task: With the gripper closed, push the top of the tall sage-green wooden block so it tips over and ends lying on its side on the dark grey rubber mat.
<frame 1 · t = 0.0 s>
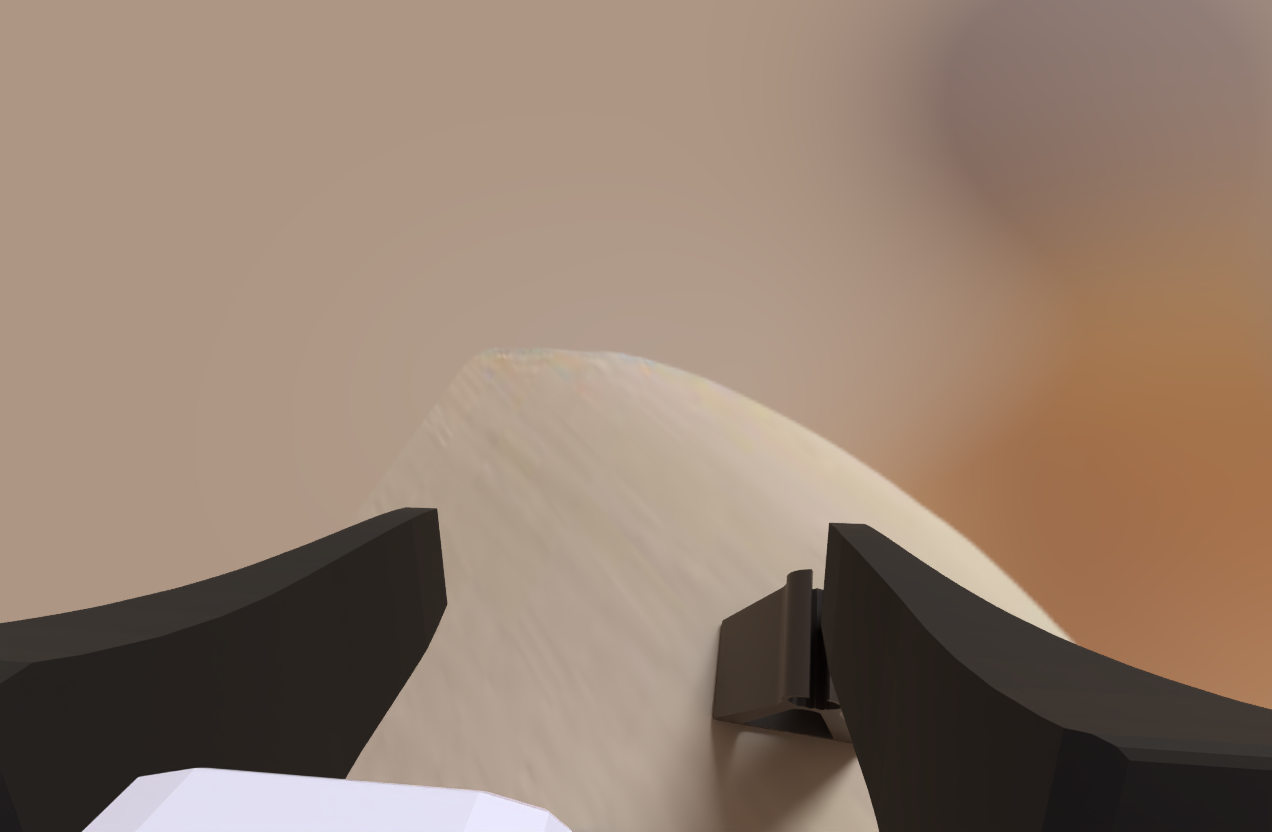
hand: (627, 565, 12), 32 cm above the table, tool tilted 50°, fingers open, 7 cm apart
phone stand: (788, 681, 40), on the table
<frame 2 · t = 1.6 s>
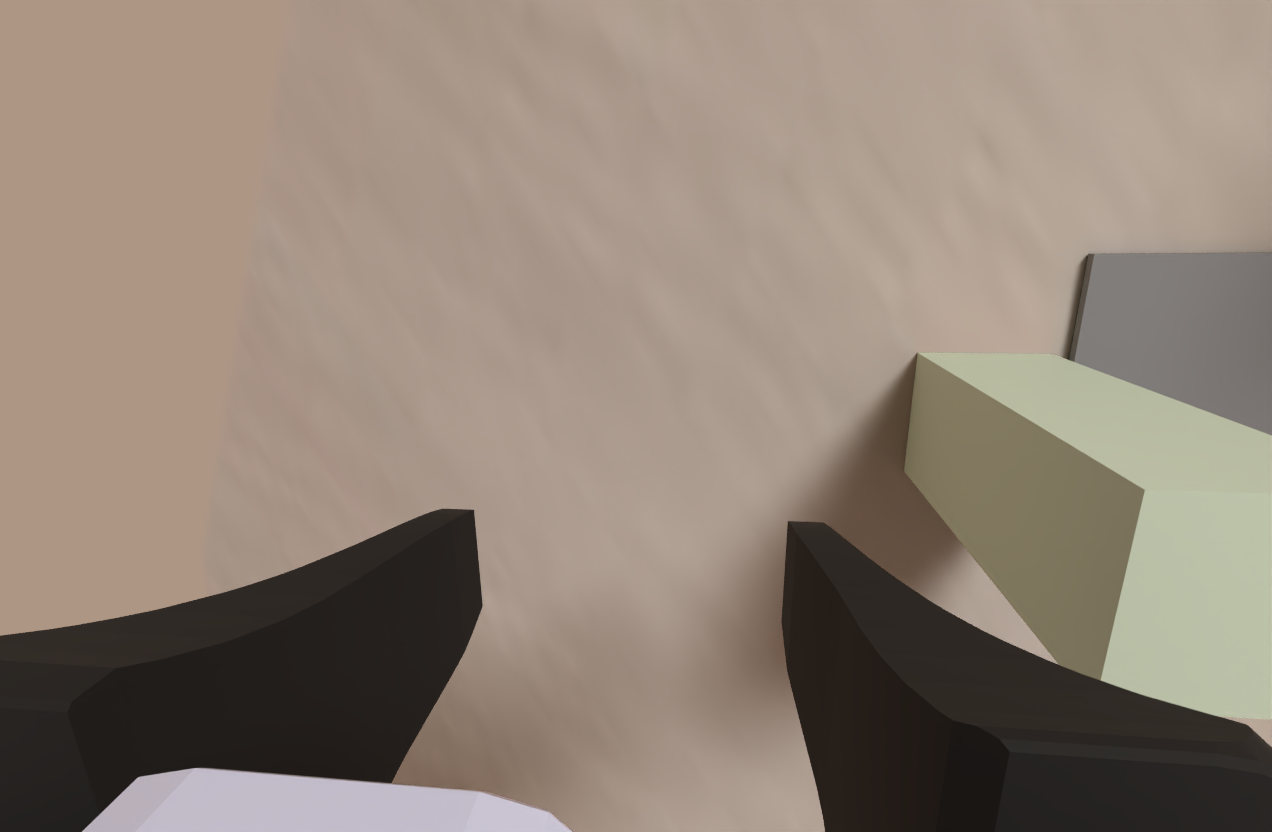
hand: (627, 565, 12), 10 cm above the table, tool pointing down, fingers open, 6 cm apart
sage block: (975, 414, 21), on the table
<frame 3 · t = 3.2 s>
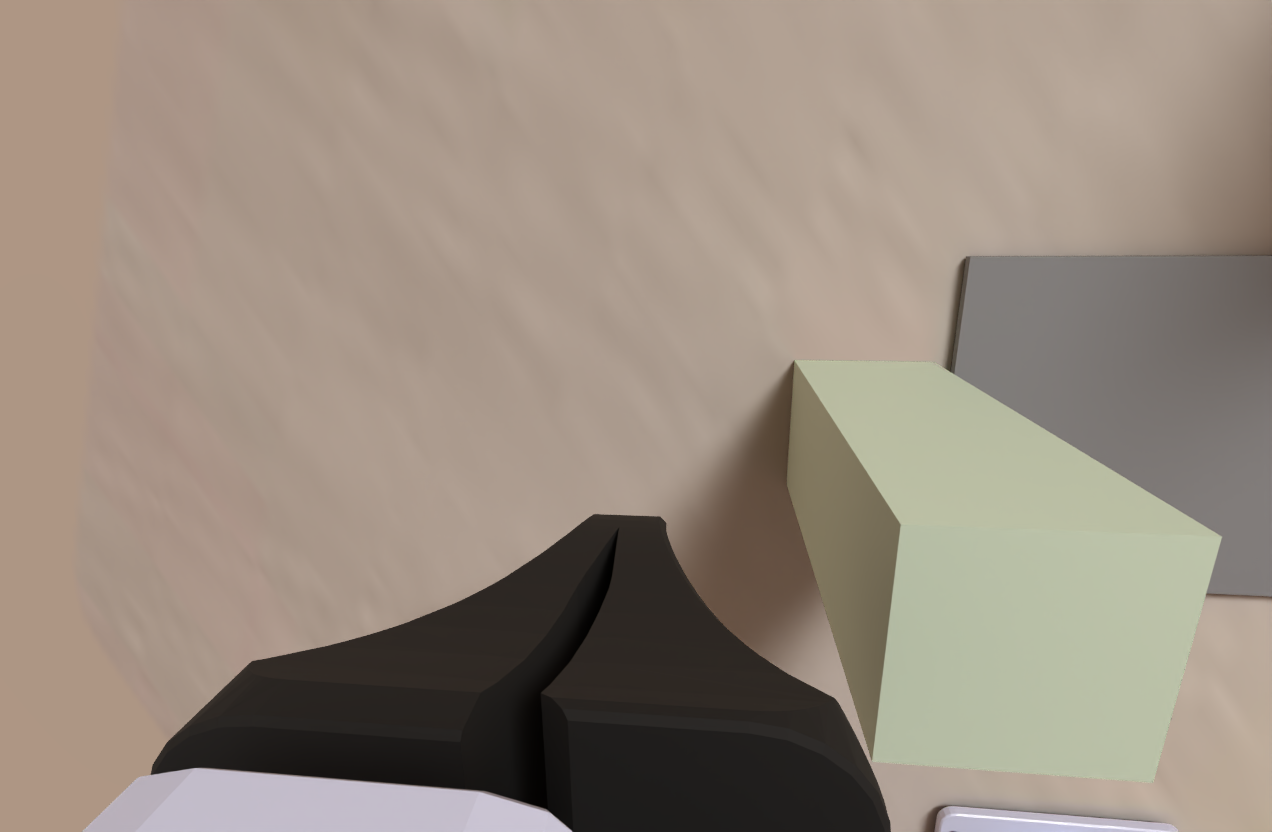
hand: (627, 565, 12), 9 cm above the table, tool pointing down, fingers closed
mat: (1195, 433, 19), on the table
sage block: (857, 425, 20), on the table
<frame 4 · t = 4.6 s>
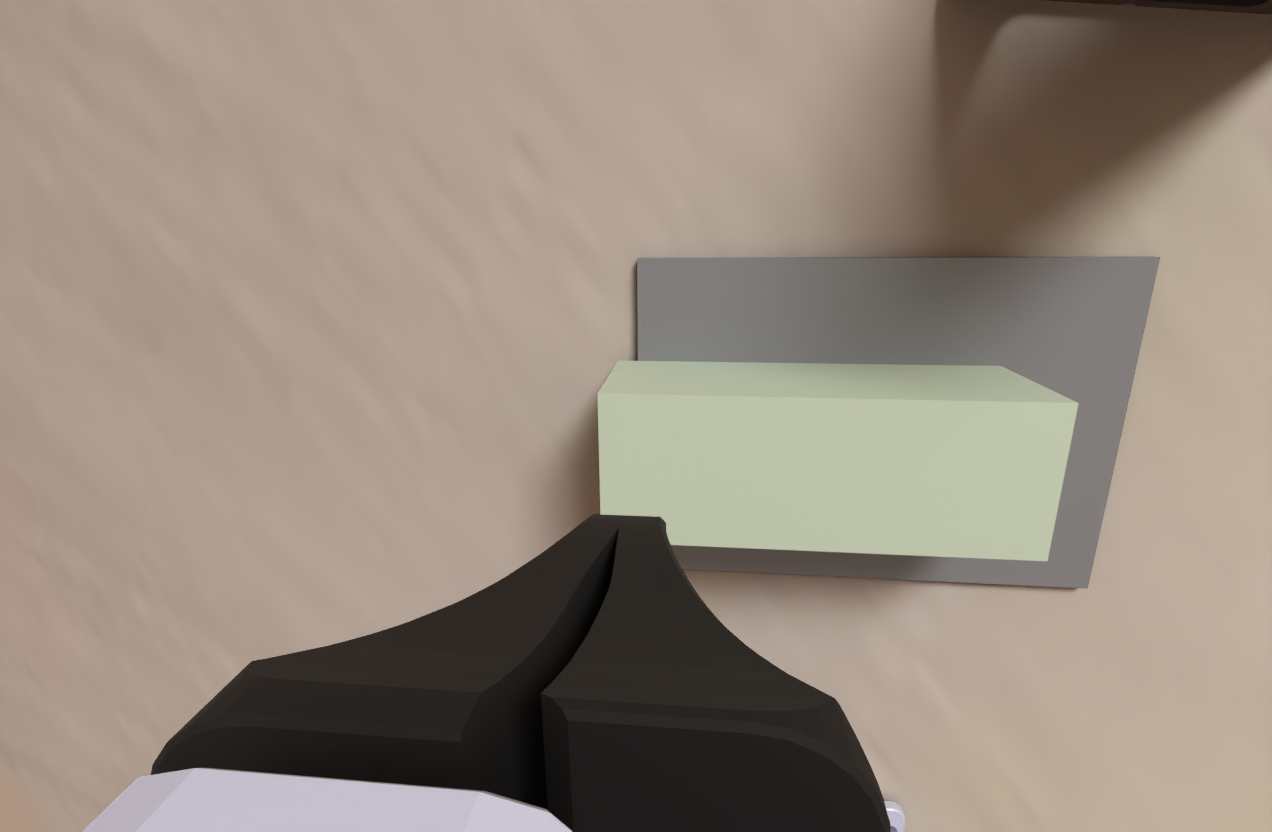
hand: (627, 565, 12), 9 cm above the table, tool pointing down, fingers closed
mat: (868, 426, 19), on the table
sage block: (610, 444, 18), point 2 cm above the table, tilted 90°, touching mat
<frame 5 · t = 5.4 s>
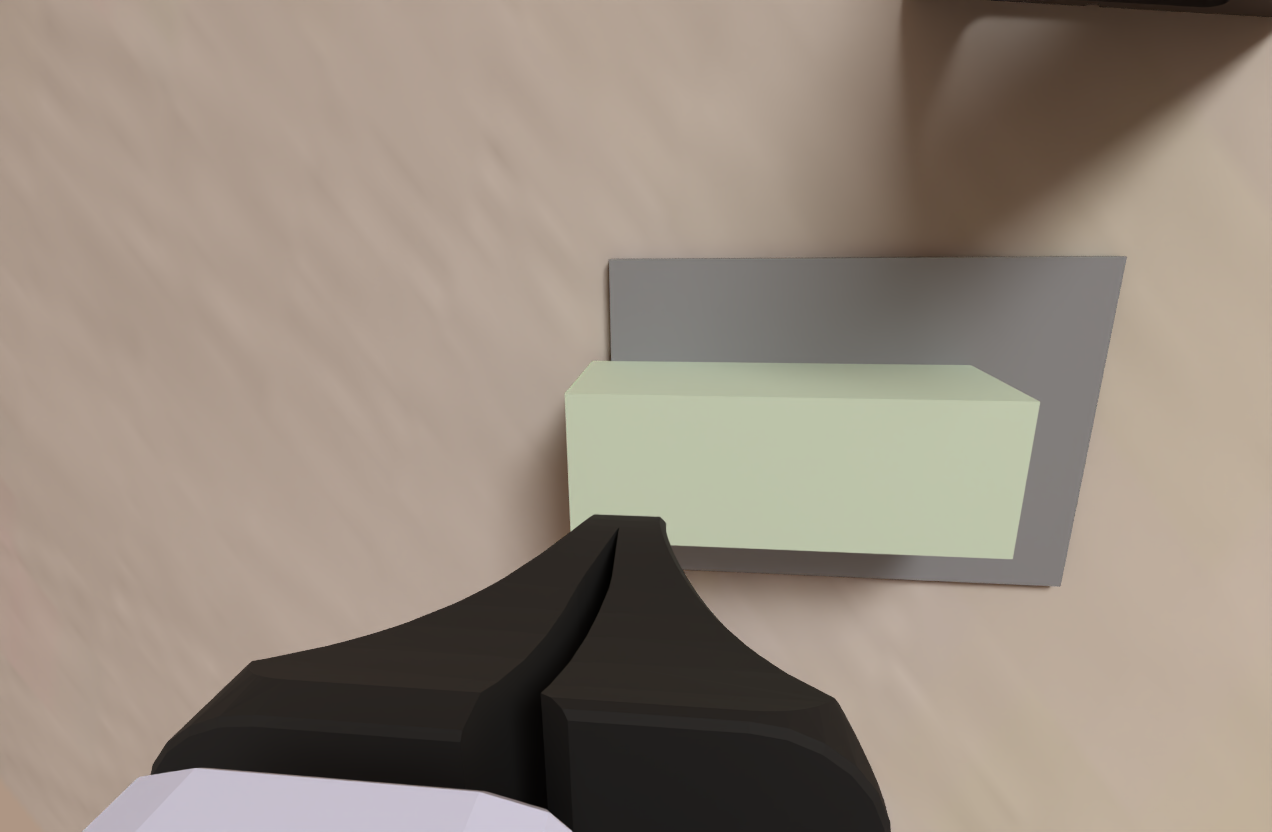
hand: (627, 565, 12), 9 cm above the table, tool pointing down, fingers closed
mat: (840, 425, 20), on the table
sage block: (582, 444, 18), point 2 cm above the table, tilted 90°, touching mat
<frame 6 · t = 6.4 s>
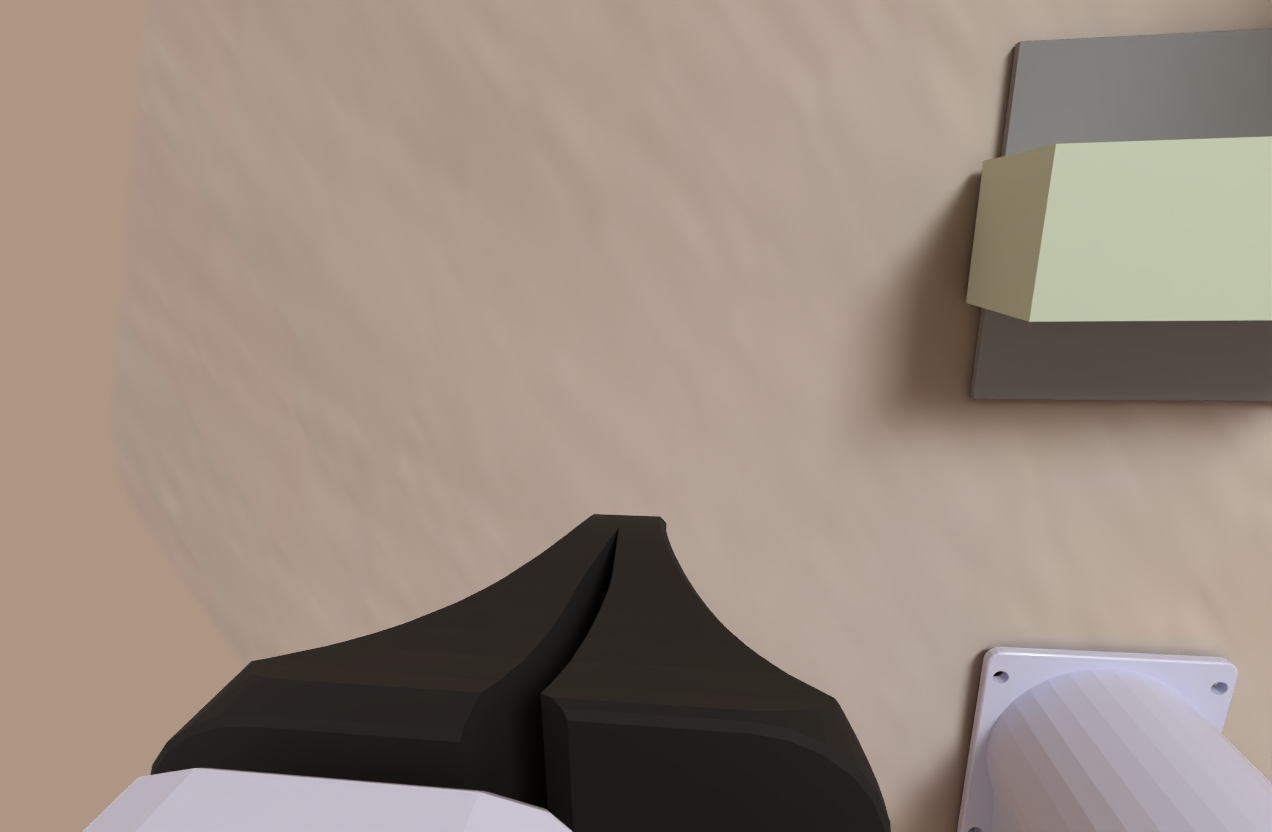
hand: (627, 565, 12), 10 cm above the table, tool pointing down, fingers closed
mat: (1250, 228, 18), on the table
sage block: (1004, 234, 17), point 2 cm above the table, tilted 90°, touching mat
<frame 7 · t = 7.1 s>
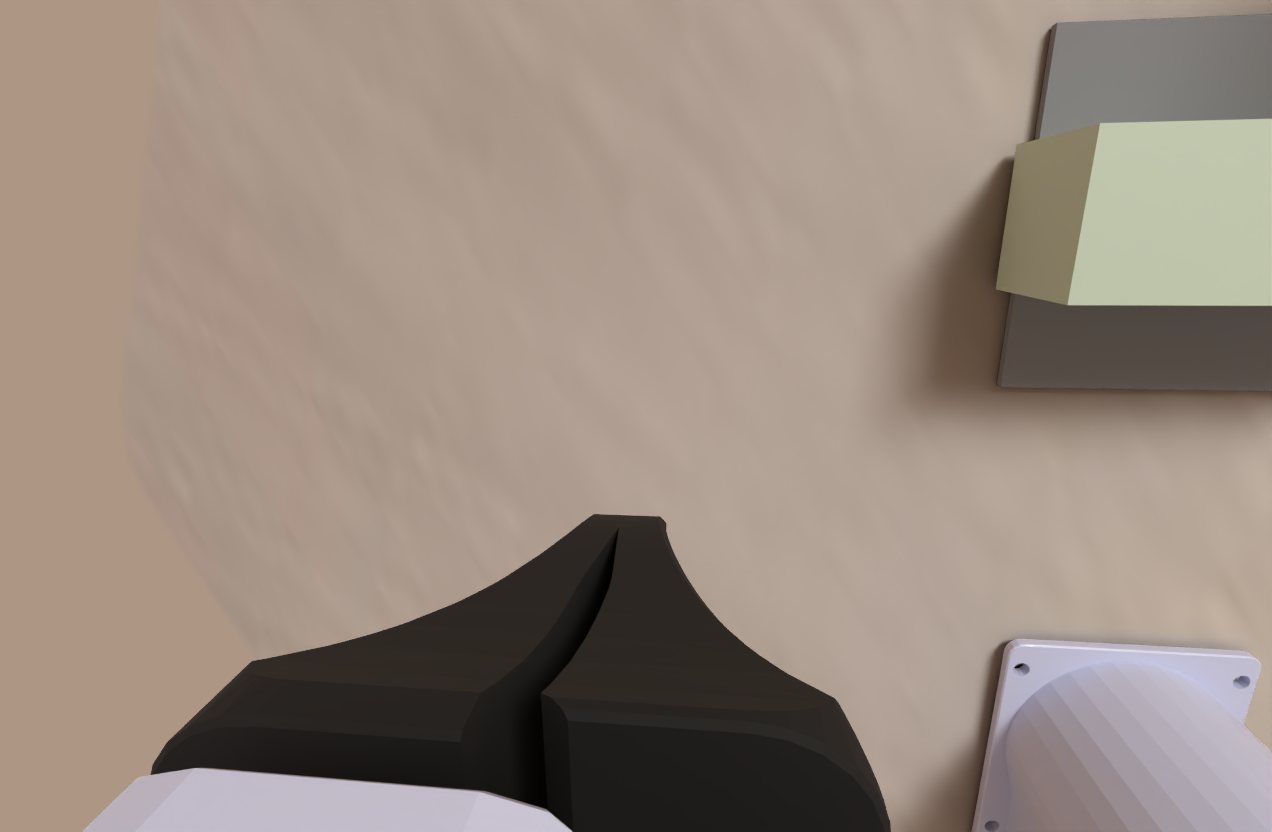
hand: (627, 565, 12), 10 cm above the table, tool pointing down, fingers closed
sage block: (1040, 218, 17), point 2 cm above the table, tilted 90°, touching mat
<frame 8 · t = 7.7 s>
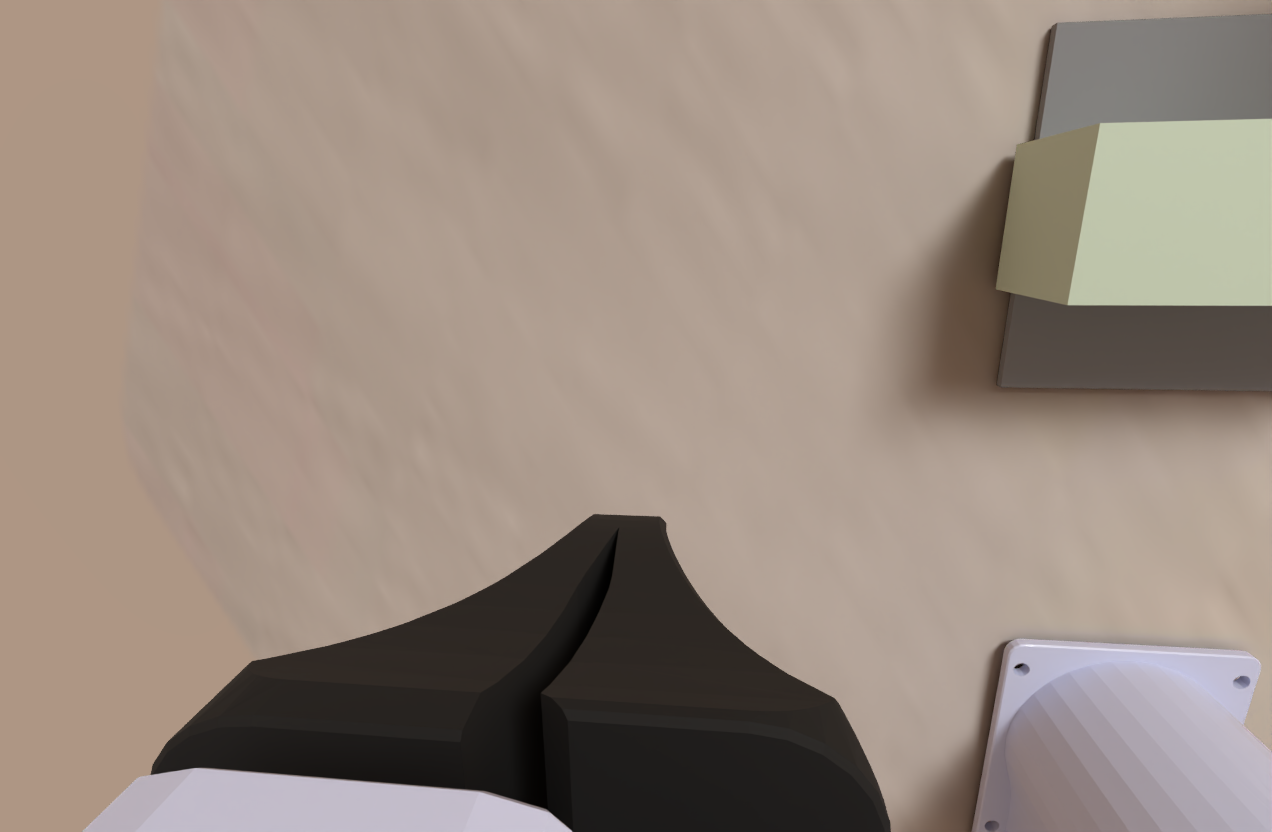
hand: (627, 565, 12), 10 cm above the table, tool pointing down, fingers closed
sage block: (1040, 218, 17), point 2 cm above the table, tilted 90°, touching mat
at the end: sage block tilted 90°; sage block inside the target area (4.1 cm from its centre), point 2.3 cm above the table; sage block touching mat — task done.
